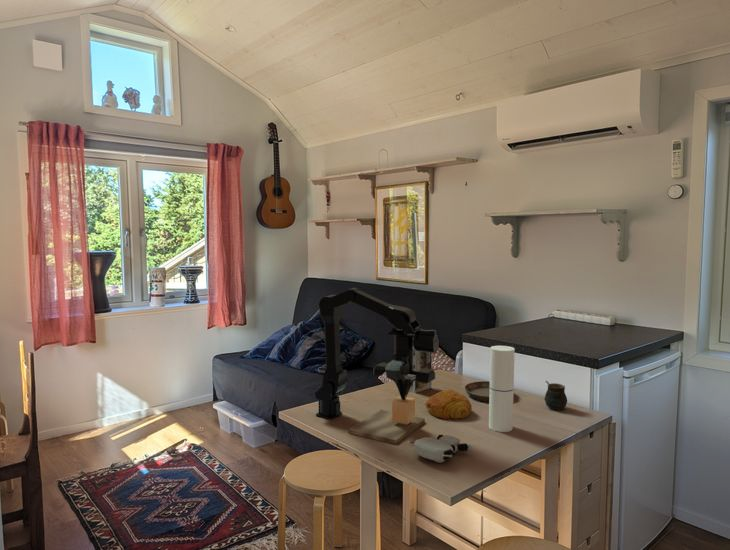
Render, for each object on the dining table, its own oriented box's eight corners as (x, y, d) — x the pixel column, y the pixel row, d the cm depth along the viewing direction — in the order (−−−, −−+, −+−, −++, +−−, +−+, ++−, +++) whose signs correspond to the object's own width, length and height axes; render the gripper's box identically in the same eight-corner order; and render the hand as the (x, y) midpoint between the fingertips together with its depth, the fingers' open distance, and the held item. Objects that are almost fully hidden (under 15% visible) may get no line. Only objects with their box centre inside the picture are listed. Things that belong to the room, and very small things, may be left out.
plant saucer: (491, 407, 184) (491, 398, 184) (454, 394, 198) (454, 386, 198) (523, 397, 195) (523, 389, 194) (486, 386, 209) (486, 378, 209)
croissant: (458, 409, 188) (458, 386, 188) (478, 419, 173) (477, 394, 173) (419, 412, 184) (419, 388, 185) (436, 421, 169) (436, 396, 170)
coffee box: (419, 384, 210) (420, 344, 208) (431, 388, 205) (432, 347, 204) (403, 389, 204) (403, 347, 203) (415, 393, 199) (415, 350, 198)
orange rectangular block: (392, 421, 164) (392, 400, 164) (399, 416, 169) (399, 395, 168) (407, 424, 162) (407, 403, 161) (414, 419, 166) (414, 398, 165)
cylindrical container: (496, 433, 161) (497, 351, 158) (484, 424, 168) (486, 346, 165) (517, 430, 163) (519, 350, 160) (504, 422, 169) (506, 345, 167)
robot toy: (440, 444, 155) (405, 455, 145) (441, 429, 155) (406, 439, 144) (475, 457, 146) (440, 470, 136) (476, 441, 146) (441, 453, 135)
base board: (348, 433, 160) (348, 429, 160) (380, 413, 177) (380, 409, 177) (395, 444, 152) (395, 440, 152) (424, 422, 169) (424, 418, 169)
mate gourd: (571, 410, 181) (572, 381, 180) (553, 413, 178) (554, 384, 177) (556, 403, 187) (557, 375, 186) (539, 406, 185) (540, 378, 184)
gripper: (364, 351, 161) (364, 401, 162) (420, 359, 152) (420, 412, 153) (382, 344, 171) (382, 392, 172) (436, 351, 161) (435, 401, 163)
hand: (403, 399), depth 165 cm, fingers closed, pressing on orange rectangular block
